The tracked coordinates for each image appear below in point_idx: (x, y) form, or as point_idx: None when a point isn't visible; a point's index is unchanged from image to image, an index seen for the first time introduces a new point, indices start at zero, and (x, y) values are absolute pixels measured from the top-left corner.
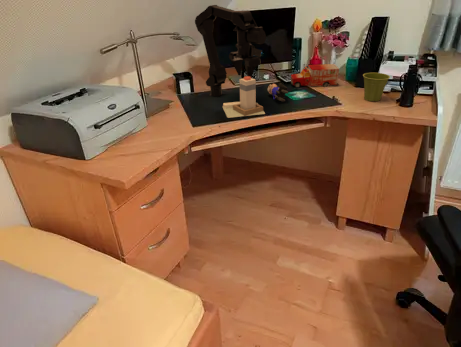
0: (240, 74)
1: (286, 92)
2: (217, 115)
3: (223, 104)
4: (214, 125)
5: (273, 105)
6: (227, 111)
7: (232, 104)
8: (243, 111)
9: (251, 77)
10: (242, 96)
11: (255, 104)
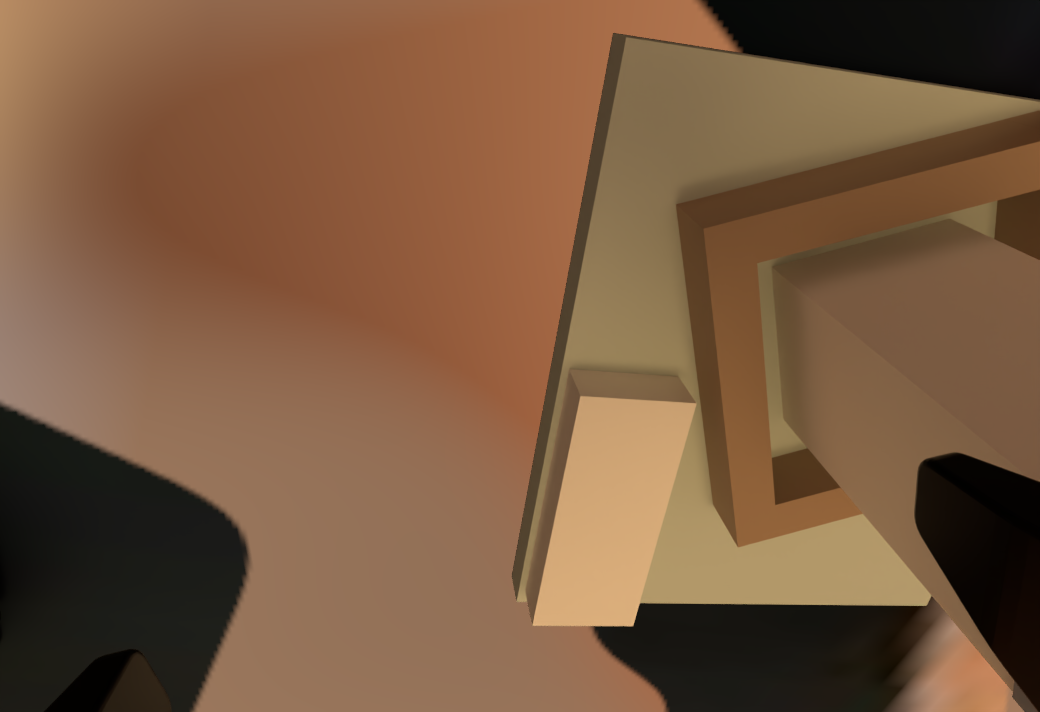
0: (129, 674)
1: None
2: (704, 649)
3: (563, 620)
4: (935, 699)
5: None
6: (742, 576)
7: (652, 525)
8: None
9: (1036, 487)
10: None
11: (1026, 257)
